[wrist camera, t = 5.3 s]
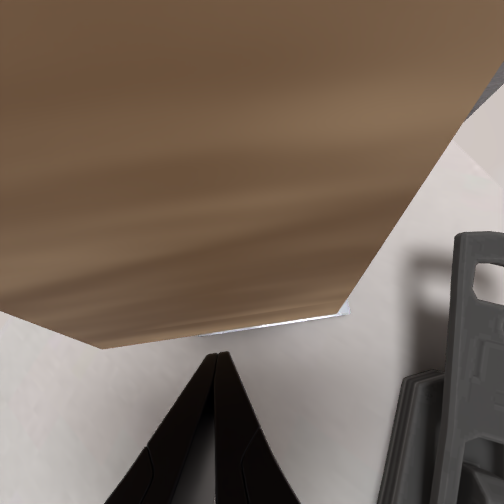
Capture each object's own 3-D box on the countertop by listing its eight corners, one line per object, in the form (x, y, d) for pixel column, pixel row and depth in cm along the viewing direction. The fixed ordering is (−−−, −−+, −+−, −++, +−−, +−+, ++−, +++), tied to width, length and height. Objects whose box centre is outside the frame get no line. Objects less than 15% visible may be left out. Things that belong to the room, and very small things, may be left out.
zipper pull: (596, 250, 16) (658, 822, 10) (501, 269, 23) (501, 626, 16) (456, 219, 17) (430, 729, 11) (402, 246, 23) (366, 577, 17)
